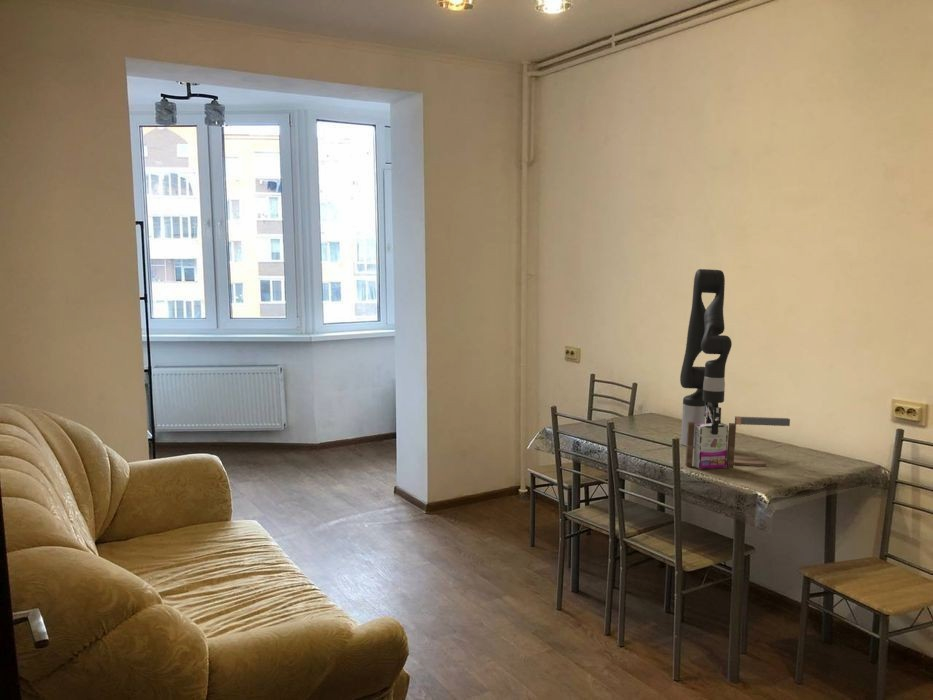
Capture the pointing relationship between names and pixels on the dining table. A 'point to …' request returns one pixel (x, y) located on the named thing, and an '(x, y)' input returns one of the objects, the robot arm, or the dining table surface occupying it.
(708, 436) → the candy bar box
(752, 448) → the dining table surface
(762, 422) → the bar
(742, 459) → the walnut board
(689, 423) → the posts
